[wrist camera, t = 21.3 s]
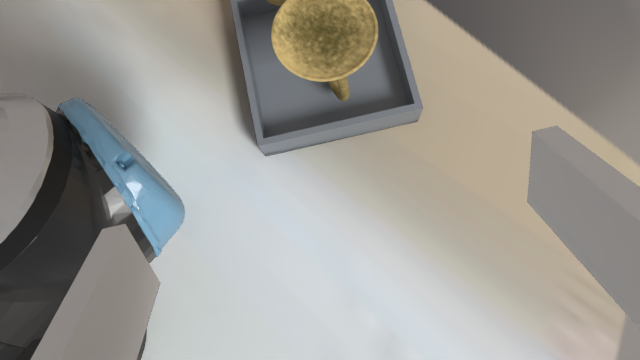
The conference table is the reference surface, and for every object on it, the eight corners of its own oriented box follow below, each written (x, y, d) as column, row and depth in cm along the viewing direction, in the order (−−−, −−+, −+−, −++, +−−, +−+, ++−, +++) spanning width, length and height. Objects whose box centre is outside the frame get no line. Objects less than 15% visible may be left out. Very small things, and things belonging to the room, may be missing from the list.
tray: (265, 156, 48) (257, 146, 44) (239, 18, 51) (229, -2, 48) (417, 121, 47) (423, 108, 43) (379, -15, 51) (381, -39, 47)
